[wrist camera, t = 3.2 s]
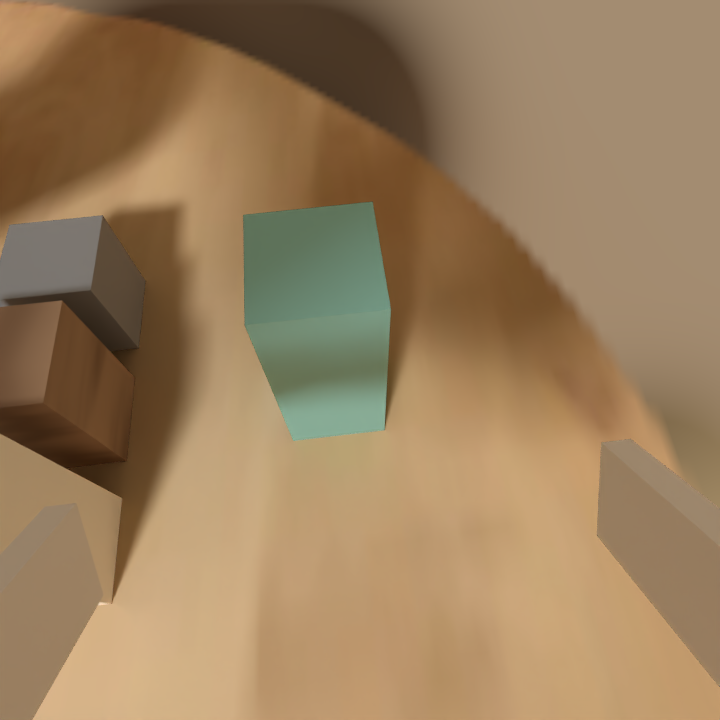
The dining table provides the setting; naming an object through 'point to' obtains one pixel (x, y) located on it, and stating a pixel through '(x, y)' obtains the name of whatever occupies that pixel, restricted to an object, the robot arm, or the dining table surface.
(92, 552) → the cream block
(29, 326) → the walnut block
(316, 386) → the teal block
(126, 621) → the dining table surface
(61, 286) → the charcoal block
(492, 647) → the dining table surface
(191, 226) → the dining table surface
